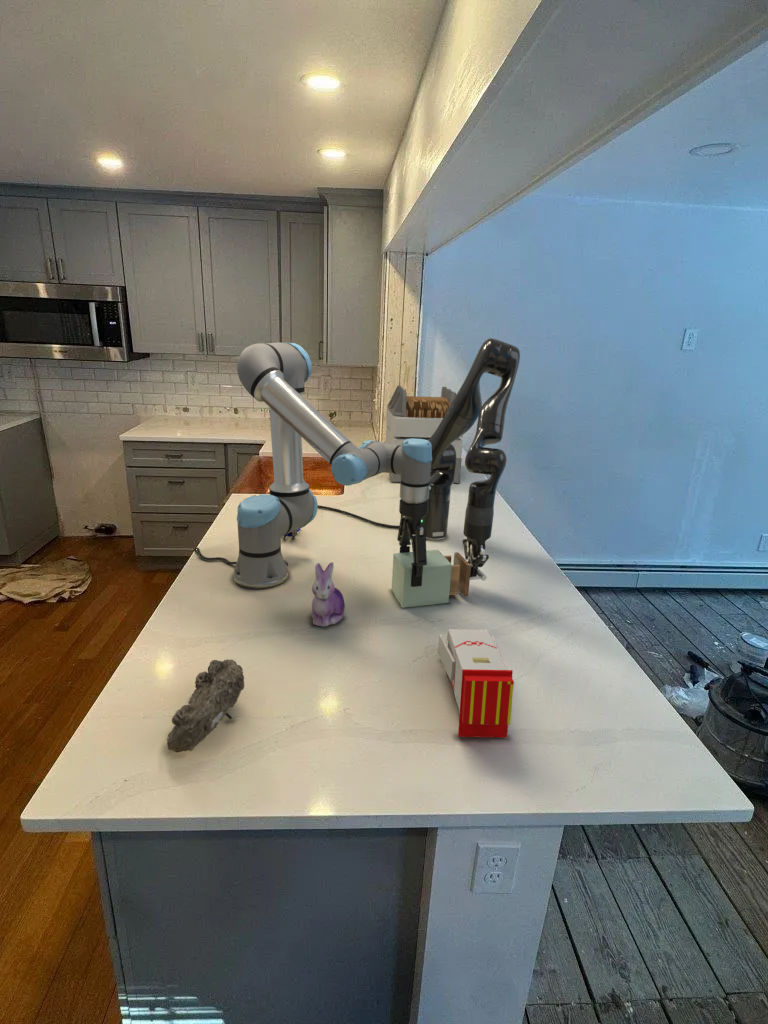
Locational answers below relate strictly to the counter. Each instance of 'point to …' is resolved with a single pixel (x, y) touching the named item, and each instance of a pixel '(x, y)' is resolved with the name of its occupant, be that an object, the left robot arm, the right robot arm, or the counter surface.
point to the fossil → (206, 705)
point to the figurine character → (291, 534)
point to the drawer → (461, 575)
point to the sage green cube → (432, 580)
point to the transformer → (418, 421)
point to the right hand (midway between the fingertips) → (471, 577)
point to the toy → (478, 682)
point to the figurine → (326, 598)
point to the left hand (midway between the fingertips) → (409, 576)
